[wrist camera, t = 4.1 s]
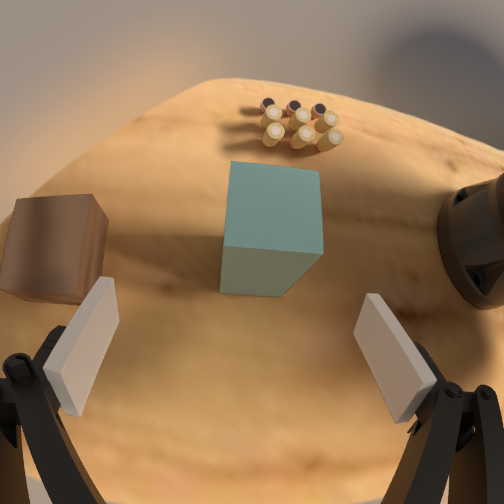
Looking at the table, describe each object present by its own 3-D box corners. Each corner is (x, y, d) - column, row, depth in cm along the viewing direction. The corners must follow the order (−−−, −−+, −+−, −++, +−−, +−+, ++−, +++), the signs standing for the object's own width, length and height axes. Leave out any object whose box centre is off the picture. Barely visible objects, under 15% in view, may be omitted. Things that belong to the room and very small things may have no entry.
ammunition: (346, 141, 26) (331, 86, 29) (267, 133, 26) (263, 78, 28) (330, 169, 31) (319, 115, 34) (260, 164, 30) (257, 109, 33)
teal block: (280, 241, 27) (318, 171, 17) (279, 297, 26) (323, 254, 15) (224, 236, 27) (231, 161, 16) (219, 293, 25) (223, 245, 15)
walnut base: (109, 220, 26) (91, 193, 22) (99, 306, 24) (76, 294, 19) (40, 222, 25) (16, 199, 21) (27, 301, 23) (-3, 288, 18)
